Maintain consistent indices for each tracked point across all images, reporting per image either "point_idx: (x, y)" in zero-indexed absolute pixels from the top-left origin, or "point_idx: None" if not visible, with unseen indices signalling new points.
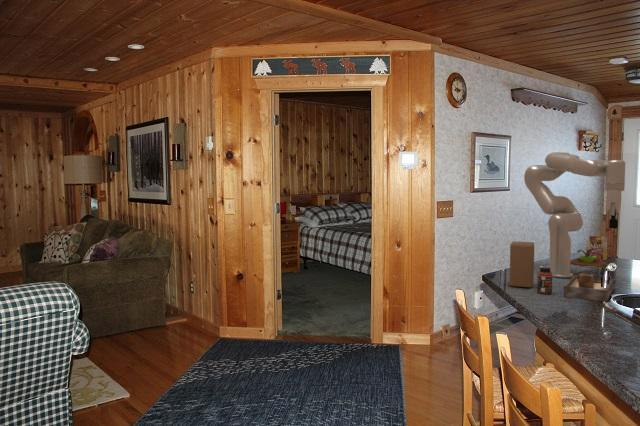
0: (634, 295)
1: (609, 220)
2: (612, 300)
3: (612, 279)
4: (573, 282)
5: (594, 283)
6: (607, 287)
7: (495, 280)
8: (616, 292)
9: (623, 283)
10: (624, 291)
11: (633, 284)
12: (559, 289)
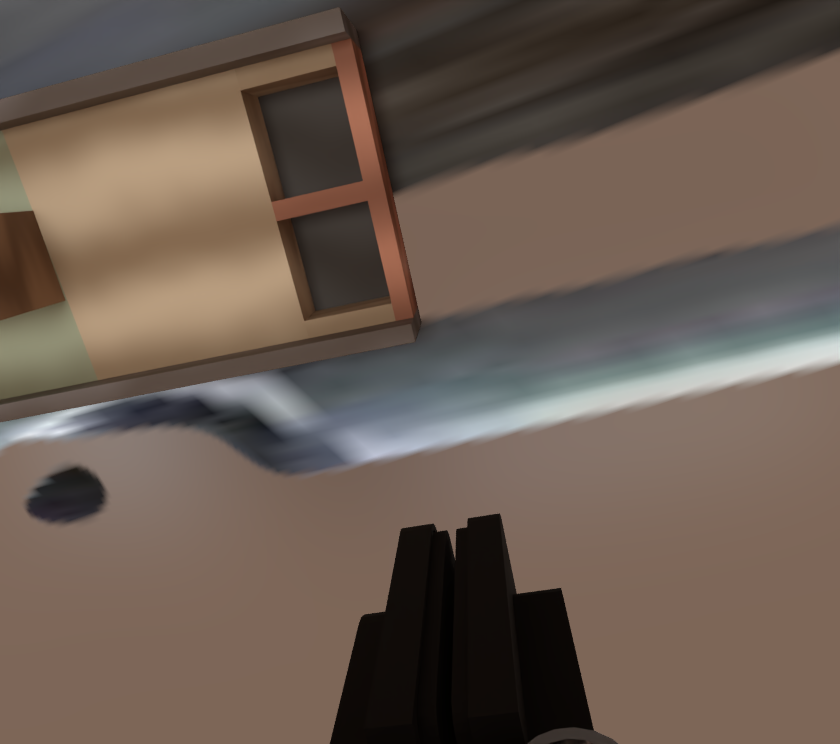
0: (310, 473)
1: (369, 697)
2: (66, 416)
3: (386, 341)
4: (161, 93)
5: (256, 240)
6: (51, 401)
7: None
8: (316, 371)
9: (702, 317)
10: (390, 400)
11: (707, 382)
12: (88, 18)
